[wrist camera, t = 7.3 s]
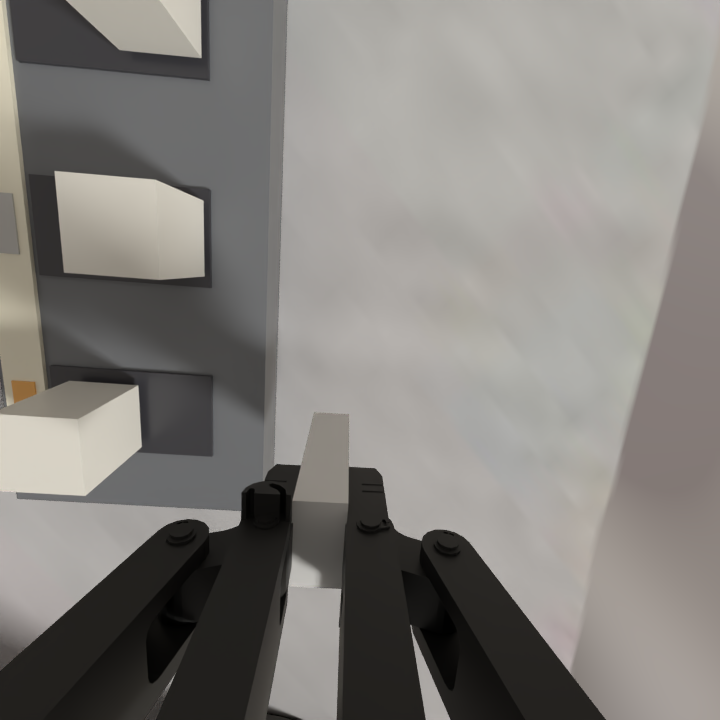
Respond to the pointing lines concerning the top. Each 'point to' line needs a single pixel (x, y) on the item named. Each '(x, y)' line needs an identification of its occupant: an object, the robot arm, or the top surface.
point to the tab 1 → (147, 24)
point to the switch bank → (148, 296)
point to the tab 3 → (68, 437)
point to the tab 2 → (129, 227)
